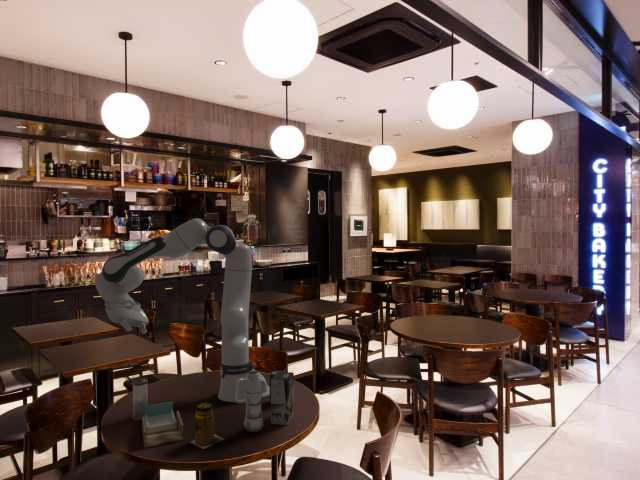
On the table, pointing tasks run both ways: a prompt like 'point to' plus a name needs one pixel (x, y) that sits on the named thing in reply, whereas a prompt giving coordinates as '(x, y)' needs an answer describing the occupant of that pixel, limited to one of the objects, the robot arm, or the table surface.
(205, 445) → the condiment
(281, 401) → the coffee box
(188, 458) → the table surface
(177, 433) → the housing
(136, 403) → the canister
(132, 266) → the robot arm
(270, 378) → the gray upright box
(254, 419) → the plastic bottle
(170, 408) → the tray
